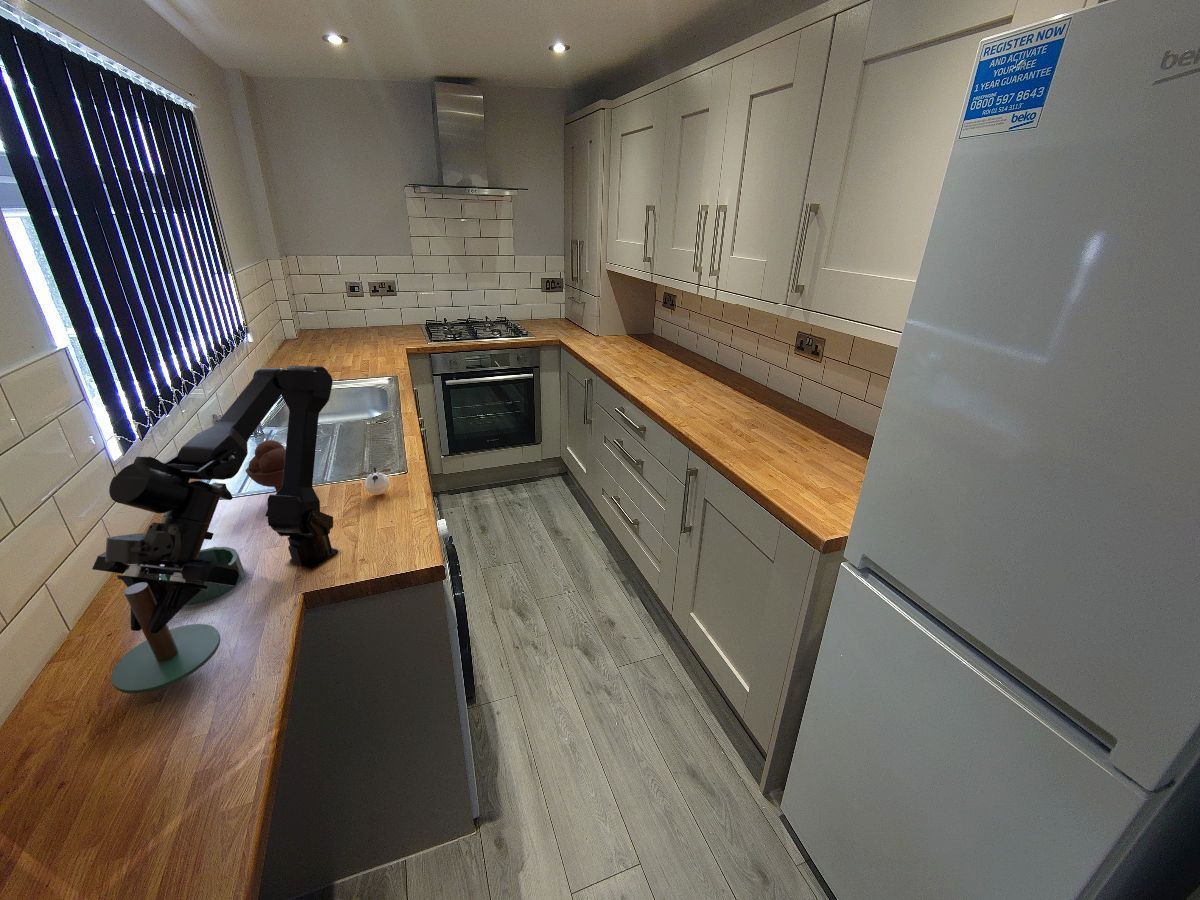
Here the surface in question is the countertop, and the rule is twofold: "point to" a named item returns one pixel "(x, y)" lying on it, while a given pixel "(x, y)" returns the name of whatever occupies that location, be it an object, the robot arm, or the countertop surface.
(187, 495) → the robot arm
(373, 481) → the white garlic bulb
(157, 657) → the lid
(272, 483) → the ice cream bowl
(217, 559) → the tin
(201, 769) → the countertop surface
